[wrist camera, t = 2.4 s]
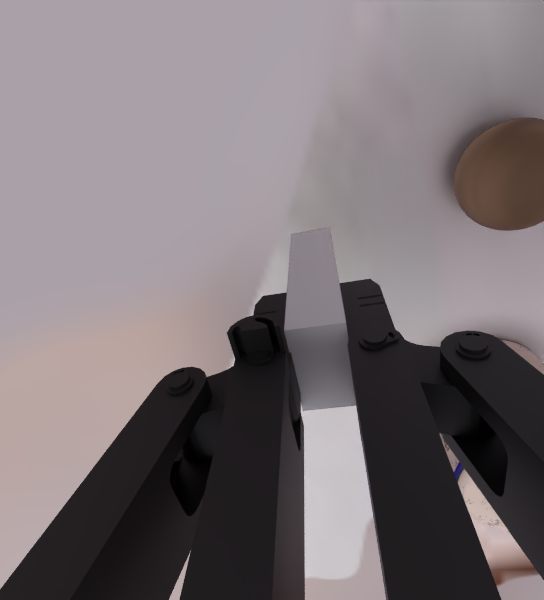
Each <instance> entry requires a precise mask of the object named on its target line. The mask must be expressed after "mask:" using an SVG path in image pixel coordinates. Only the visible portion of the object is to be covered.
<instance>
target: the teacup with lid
mask: <svg viewBox="0 0 544 600" xmlns="http://www.w3.org/2000/svg"><path fill="white" fill-rule="evenodd" d="M501 341H503V342H504V343H505V344H506V345H508V346H509V347H510V348H511V349H513V350H514V351H515V352H516V353H518V354H519V355H520V356H521V357H523V358H524V359H525V360H526V361H528V362H529V363H530V364H531V365H532V366H534V367H535V368H536V369H537V370H539V371H540V372H541V373H542V374H544V365H543V364H542V362H541V361H540V360H539V359H538V357H537V356H536V355H535V354H534V353H533V352H531V351H530V350H529V349H527V348H526V347H524V346H522V345H519V344H517V343H514V342H510V341H506V340H501ZM439 434H440V437H441V439H442V442H443V445H444V447H445V450H446V453H447V456H448V458H449V461H450V464H451V466H452V469H453V472H454V474H455V477H456V480H457V482H458V485H459V488H460V490H461V493H462V496H463V498H464V501H465V504H466V506H467V509H468V512H469V514H470V515H471V516H473V517H474V518H475V519H477V520H478V521H480V522H482V523H484V524H486V525H488V526H491V527H494V528H497V529H501V530H505V531H508V529H507V528H506V526H505V525H504V524H503V522H502V521H501V519H500V518H499V517H498V515H497V514H496V512H495V511H494V510H493V508H492V507H491V505H490V504H489V503H488V501H487V500H486V498H485V497H484V496H483V494H482V493H481V491H480V490H479V489H478V487H477V486H476V484H475V483H474V482H473V480H472V479H471V477H470V476H469V475H468V473H467V472H466V470H465V469H464V468H463V466H462V465H461V463H460V462H459V460H458V459H457V458H456V456H455V455H454V453H453V452H452V451H451V449H450V448H449V446H448V445H447V444H446V442H445V441H444V439H443V437H442V435H441V433H439Z"/></svg>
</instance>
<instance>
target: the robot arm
mask: <svg viewBox="0 0 544 600" xmlns="http://www.w3.org/2000/svg"><path fill="white" fill-rule="evenodd" d="M227 334H228V338H229V341H230V344H231V347H232V350H233V353H234V356H235V363H234V366H233V367H231V368H230V369H228V370H225V371H223V372H221V373H218V374H215V375H212V376H209V377H206V374H205V372H204V371H202V370H201V369H199V368H195V367H186V368H181V369H178V370H175V371H173V372H171V373H170V374H168V375H166V376H165V377H164V378H163V379H162V380H161V381H160V382H159V383H158V384H157V385H156V386H155V388H154V389H153V390H152V392H151V393H150V394H149V396H148V397H147V398H146V399H145V401H144V402H143V403H142V405H141V406H140V407H139V409H138V410H137V411H136V413H135V414H134V415H133V417H132V418H131V419H130V421H129V422H128V423H127V424H126V426H125V427H124V428H123V430H122V431H121V432H120V433H119V435H118V436H117V437H116V439H115V440H114V441H113V443H112V444H111V445H110V447H109V448H108V449H107V450H106V452H105V453H104V455H103V456H102V457H101V458H100V460H99V461H98V462H97V464H96V465H95V466H94V467H93V469H92V470H91V471H90V473H89V474H88V475H87V477H86V478H85V479H84V481H83V482H82V483H81V484H80V486H79V487H78V488H77V490H76V491H75V492H74V494H73V495H72V496H71V498H70V499H69V500H68V502H67V503H66V504H65V505H64V507H63V508H62V510H61V511H60V512H59V513H58V515H57V516H56V517H55V519H54V520H53V521H52V523H51V524H50V525H49V526H48V528H47V529H46V530H45V532H44V533H43V534H42V536H41V537H40V538H39V540H38V541H37V542H36V543H35V545H34V546H33V547H32V549H31V550H30V551H29V553H28V554H27V555H26V557H25V558H24V559H23V560H22V562H21V563H20V564H19V566H18V567H17V568H16V570H15V571H14V572H13V573H12V575H11V576H10V577H9V579H8V580H7V581H6V583H5V584H4V585H3V587H2V588H1V589H0V600H169V598H170V595H171V593H172V591H173V589H174V586H175V584H176V582H177V580H178V578H179V575H180V573H181V571H182V569H183V566H184V564H185V562H186V560H187V557H188V555H189V553H190V551H191V553H190V557H189V562H188V566H187V570H186V575H185V579H184V583H183V588H182V592H181V596H180V600H305V571H304V425H303V421H302V417H301V413H300V412H301V404H302V408H303V411H305V410H315V409H325V408H335V407H345V406H355V405H356V406H357V413H358V420H359V427H360V434H361V441H362V446H363V452H364V459H365V465H366V472H367V478H368V485H369V491H370V497H371V504H372V510H373V517H374V523H375V529H376V536H377V542H378V549H379V555H380V562H381V568H382V574H383V581H384V587H385V594H386V600H501V597H500V595H499V592H498V589H497V587H496V584H495V581H494V579H493V576H492V573H491V571H490V568H489V565H488V563H487V560H486V557H485V555H484V552H483V549H482V547H481V544H480V541H479V538H478V536H477V533H476V530H475V528H474V525H473V522H472V520H471V517H470V514H469V512H468V509H467V506H466V504H465V501H464V498H463V496H462V493H461V490H460V488H459V485H458V482H457V480H456V477H455V474H454V472H453V469H452V466H451V464H450V461H449V458H448V456H447V453H446V450H445V447H444V445H443V442H442V439H441V437H440V434H439V433H441V435H442V437H443V439H444V441H445V442H446V444H447V445H448V446H449V448H450V449H451V451H452V452H453V453H454V455H455V456H456V458H457V459H458V460H459V462H460V463H461V465H462V466H463V468H464V469H465V470H466V472H467V473H468V475H469V476H470V477H471V479H472V480H473V482H474V483H475V484H476V486H477V487H478V489H479V490H480V491H481V493H482V494H483V496H484V497H485V498H486V500H487V501H488V503H489V504H490V505H491V507H492V508H493V510H494V511H495V512H496V514H497V515H498V517H499V518H500V519H501V521H502V522H503V524H504V525H505V526H506V528H507V529H508V531H509V532H510V533H511V535H512V536H513V538H514V539H515V540H516V542H517V543H518V545H519V546H520V547H521V549H522V550H523V552H524V553H525V554H526V556H527V557H528V559H529V560H530V561H531V563H532V564H533V566H534V567H535V568H536V570H537V571H538V573H539V574H540V575H541V577H542V578H543V580H544V374H542V373H541V372H540V371H539V370H537V369H536V368H535V367H534V366H532V365H531V364H530V363H529V362H528V361H526V360H525V359H524V358H523V357H521V356H520V355H519V354H518V353H516V352H515V351H514V350H513V349H511V348H510V347H509V346H508V345H506V344H505V343H504V342H503V341H501V340H500V339H498V338H496V337H494V336H493V335H490V334H486V333H483V332H477V331H463V332H456V333H453V334H451V335H449V336H447V337H446V338H445V339H444V340H443V341H442V342H441V346H440V347H432V346H423V345H417V344H414V343H410V342H408V341H406V340H404V338H403V336H402V335H401V334H400V332H398V331H396V330H395V328H394V325H393V322H392V319H391V316H390V314H389V311H388V308H387V305H386V303H385V300H384V297H383V294H382V291H381V288H380V286H379V285H378V284H377V283H375V282H374V281H372V280H371V279H365V280H359V281H352V282H346V283H339V279H338V273H337V267H336V261H335V255H334V249H333V244H332V238H331V232H330V227H329V228H324V229H318V230H312V231H307V232H301V233H295V234H291V244H290V258H289V271H288V285H287V293H281V294H274V295H267V296H263V297H262V298H261V299H260V300H259V301H258V303H257V304H256V305H255V310H254V315H253V316H249V317H246V318H244V319H242V320H240V321H237V323H235V324H234V325H232V326H231V327H230V329H229V330H228V332H227Z"/></svg>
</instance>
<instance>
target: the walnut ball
mask: <svg viewBox="0 0 544 600" xmlns="http://www.w3.org/2000/svg"><path fill="white" fill-rule="evenodd" d="M454 190H455V195H456V198H457V201H458V203H459V205H460V207H461V208H462V210H463V211H464V212H465V213H466V215H467V216H468V217H470V218H471V219H472V220H474V221H475V222H477V223H478V224H480V225H482V226H485V227H488V228H491V229H495V230H519V229H524V228H528V227H531V226H534V225H536V224H539V223H541V222H543V221H544V120H543V119H537V118H518V119H512V120H508V121H505V122H502V123H499V124H497V125H495V126H493V127H491V128H489V129H488V130H486V131H485V132H483V133H482V134H480V135H479V136H478V137H477V138H475V139H474V140H473V141H472V142H471V144H470V145H469V146H468V147H467V148H466V150H465V151H464V153H463V154H462V156H461V158H460V160H459V162H458V165H457V168H456V172H455V178H454Z"/></svg>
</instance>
